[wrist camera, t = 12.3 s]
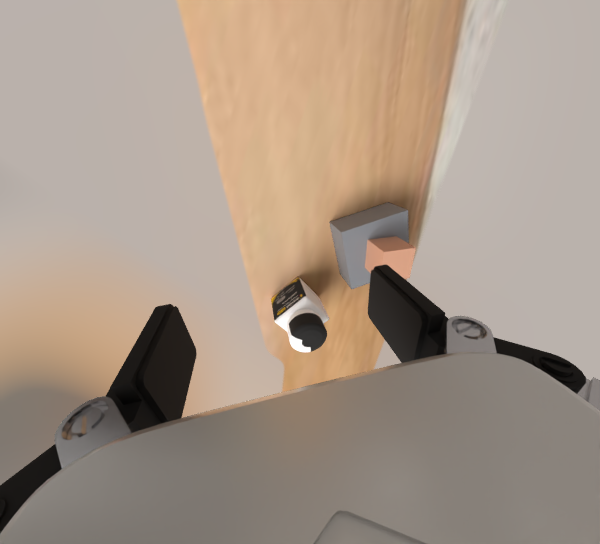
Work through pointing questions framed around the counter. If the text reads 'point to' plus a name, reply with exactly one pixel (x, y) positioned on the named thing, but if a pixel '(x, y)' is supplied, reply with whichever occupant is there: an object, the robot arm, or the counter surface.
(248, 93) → the counter surface
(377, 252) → the terracotta cube
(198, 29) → the counter surface
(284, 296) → the medicine bottle
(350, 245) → the grey block
